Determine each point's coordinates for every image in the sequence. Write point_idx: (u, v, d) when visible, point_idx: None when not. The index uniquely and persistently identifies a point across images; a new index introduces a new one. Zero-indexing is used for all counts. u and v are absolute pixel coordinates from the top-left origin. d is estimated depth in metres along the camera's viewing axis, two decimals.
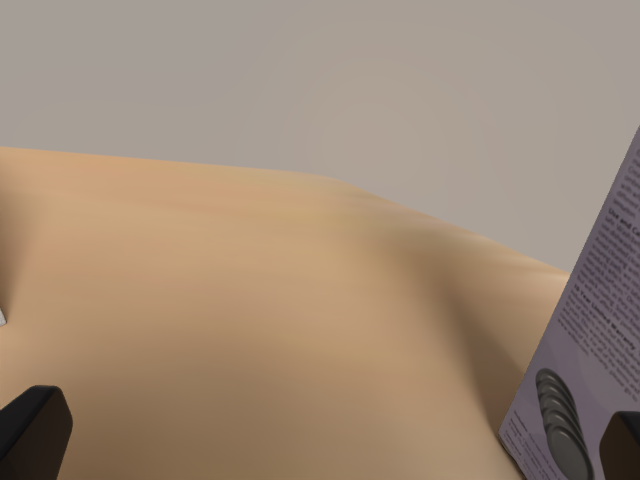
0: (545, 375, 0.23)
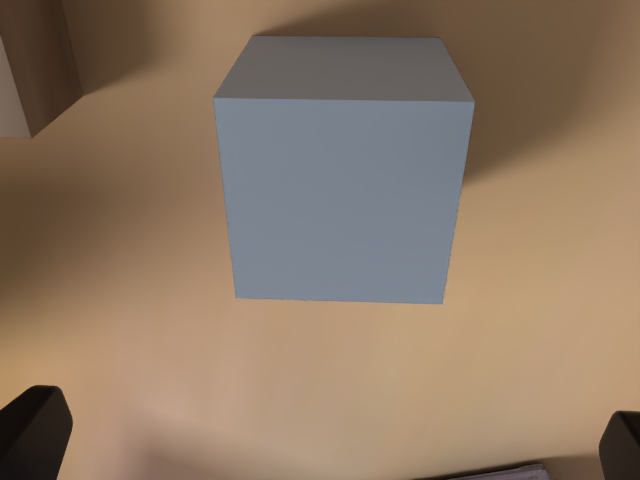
0: None
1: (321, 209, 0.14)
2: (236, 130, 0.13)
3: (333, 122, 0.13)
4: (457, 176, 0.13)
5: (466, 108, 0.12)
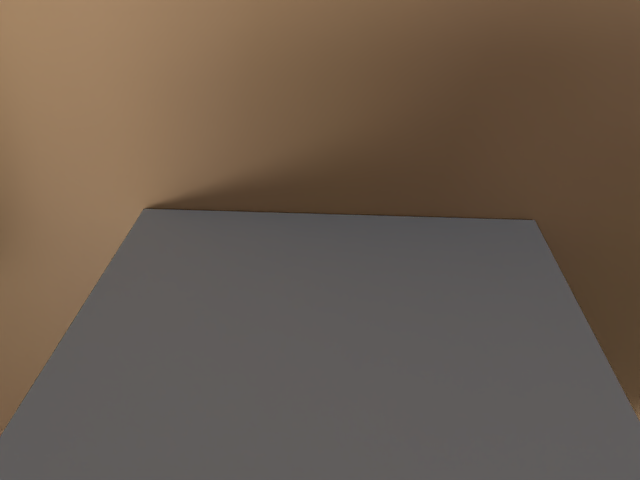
0: None
1: None
2: None
3: None
4: None
5: None
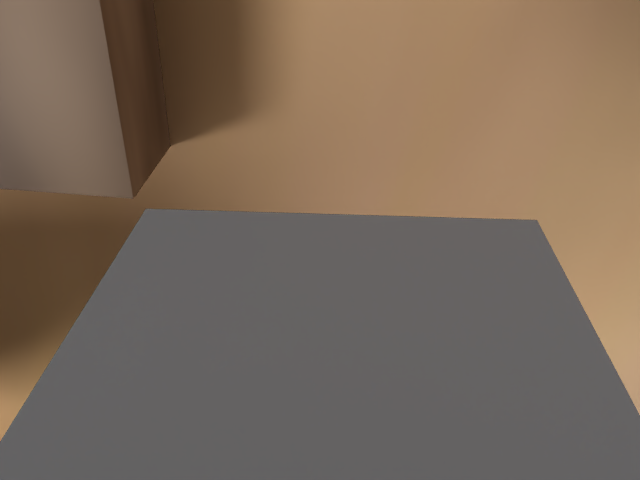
0: None
1: None
2: None
3: None
4: None
5: None
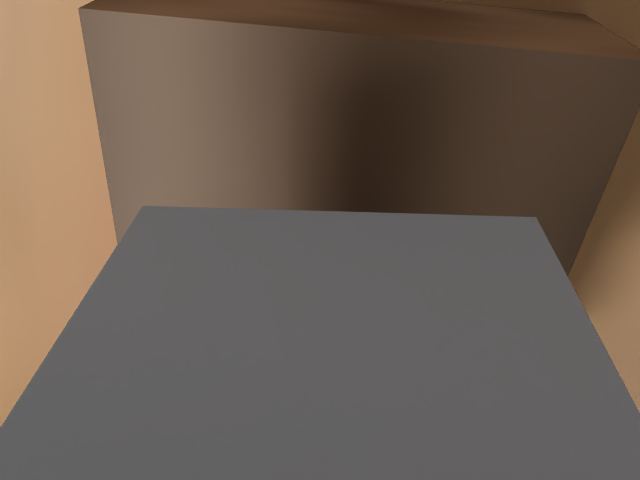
0: None
1: None
2: None
3: None
4: None
5: None
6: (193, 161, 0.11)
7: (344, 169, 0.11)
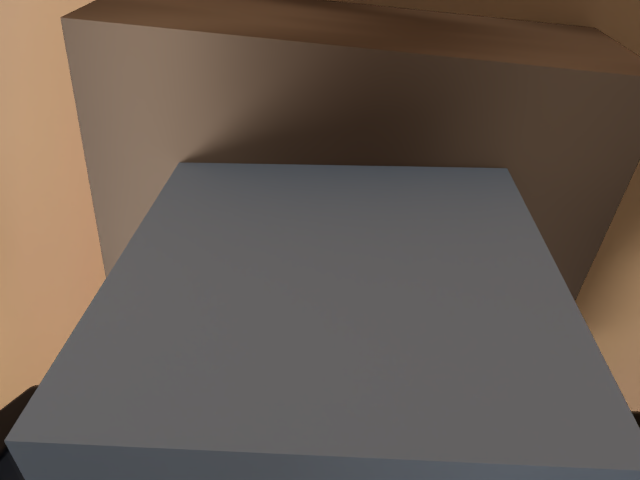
0: None
1: None
2: None
3: None
4: None
5: (634, 478, 0.05)
6: None
7: None
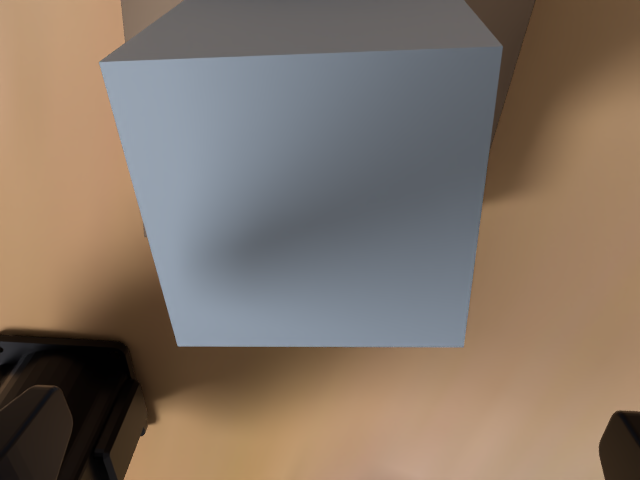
0: None
1: (279, 222, 0.10)
2: (141, 110, 0.09)
3: (284, 90, 0.08)
4: (478, 165, 0.09)
5: (489, 57, 0.08)
6: None
7: None
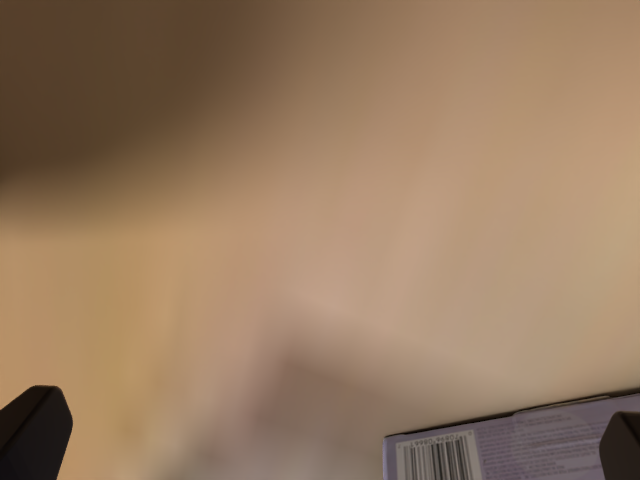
0: None
1: None
2: None
3: None
4: None
5: None
6: None
7: None
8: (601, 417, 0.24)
